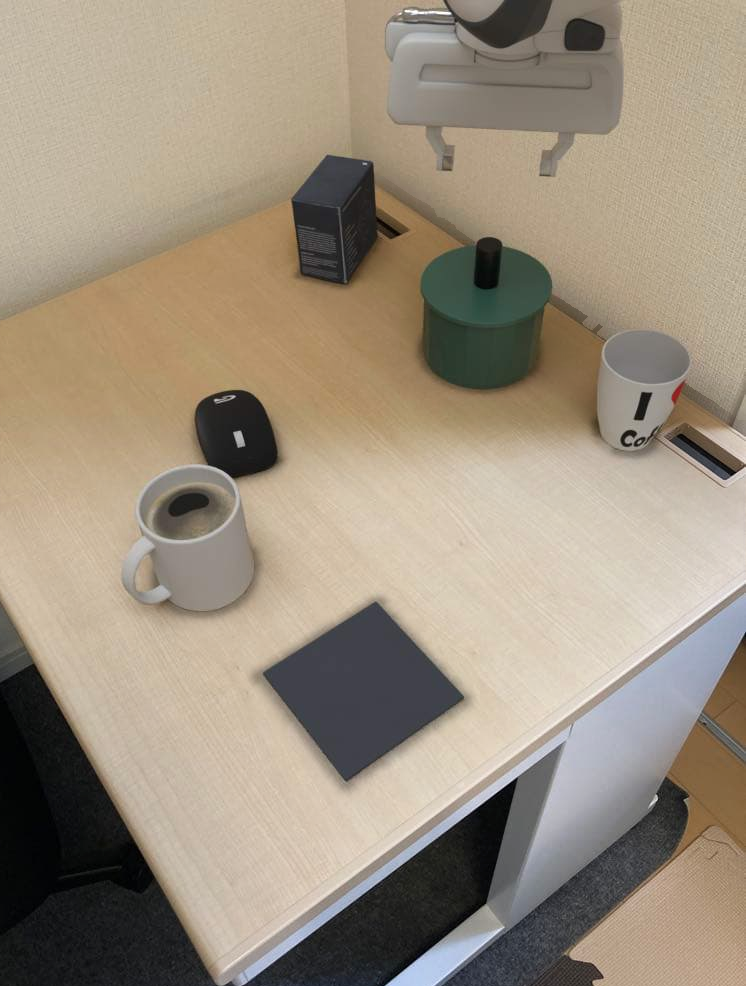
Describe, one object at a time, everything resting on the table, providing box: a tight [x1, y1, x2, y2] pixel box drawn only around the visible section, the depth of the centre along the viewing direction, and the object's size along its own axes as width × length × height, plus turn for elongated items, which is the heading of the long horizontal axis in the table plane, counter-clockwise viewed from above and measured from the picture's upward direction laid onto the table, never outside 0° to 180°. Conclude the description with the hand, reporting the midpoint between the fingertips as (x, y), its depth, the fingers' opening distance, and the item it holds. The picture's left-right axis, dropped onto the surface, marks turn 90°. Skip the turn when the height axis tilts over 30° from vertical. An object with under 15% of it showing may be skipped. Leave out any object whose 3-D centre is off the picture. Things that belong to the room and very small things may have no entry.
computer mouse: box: [194, 389, 279, 479], centre depth 93 cm, size 8×12×4 cm, turn 18°
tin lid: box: [419, 236, 553, 328], centre depth 93 cm, size 14×14×6 cm
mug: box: [121, 463, 255, 612], centre depth 80 cm, size 11×10×10 cm
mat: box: [262, 601, 465, 782], centre depth 76 cm, size 12×12×1 cm
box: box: [290, 154, 379, 284], centre depth 110 cm, size 11×7×10 cm, turn 157°
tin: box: [422, 300, 546, 390], centre depth 98 cm, size 13×13×8 cm
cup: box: [596, 328, 693, 452], centre depth 89 cm, size 8×8×10 cm
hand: (495, 170), depth 85 cm, fingers open, 8 cm apart
